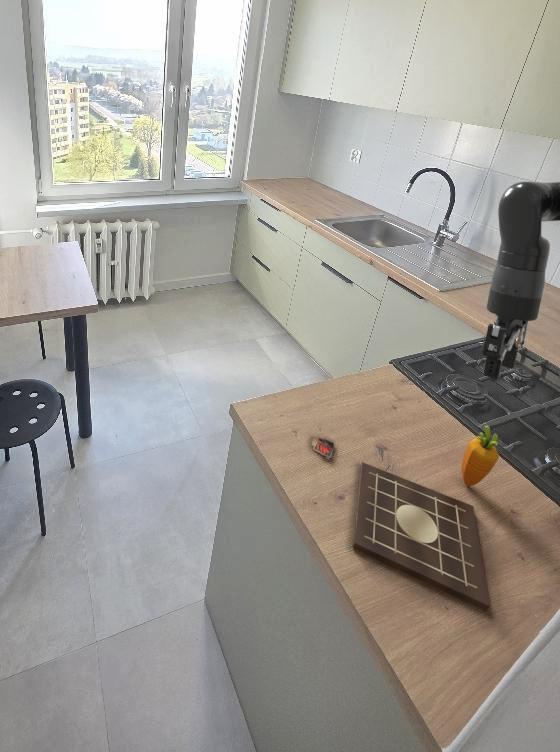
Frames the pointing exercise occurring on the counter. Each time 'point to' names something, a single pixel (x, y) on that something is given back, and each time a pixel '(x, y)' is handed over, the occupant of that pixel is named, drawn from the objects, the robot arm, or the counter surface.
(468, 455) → the carrot
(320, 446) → the matchbox
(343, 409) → the counter surface
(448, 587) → the game board
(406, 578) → the counter surface
